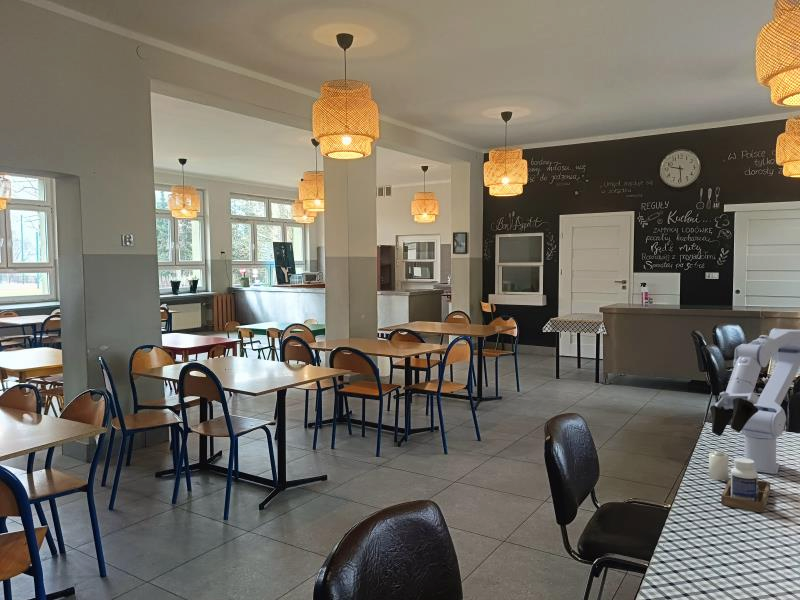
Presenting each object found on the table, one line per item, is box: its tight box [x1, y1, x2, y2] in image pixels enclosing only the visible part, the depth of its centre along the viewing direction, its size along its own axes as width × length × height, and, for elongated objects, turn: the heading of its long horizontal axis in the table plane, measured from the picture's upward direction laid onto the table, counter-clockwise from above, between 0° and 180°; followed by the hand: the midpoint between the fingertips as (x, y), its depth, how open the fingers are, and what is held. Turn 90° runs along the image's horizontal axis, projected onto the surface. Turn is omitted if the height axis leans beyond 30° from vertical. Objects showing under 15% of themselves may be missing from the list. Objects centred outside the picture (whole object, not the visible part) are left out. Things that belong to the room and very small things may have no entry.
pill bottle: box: [730, 457, 759, 502], centre depth 133 cm, size 5×5×10 cm
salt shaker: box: [708, 451, 730, 481], centre depth 149 cm, size 4×4×7 cm
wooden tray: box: [720, 477, 771, 513], centre depth 136 cm, size 16×8×2 cm, turn 143°
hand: (725, 432), depth 144 cm, fingers open, 7 cm apart
